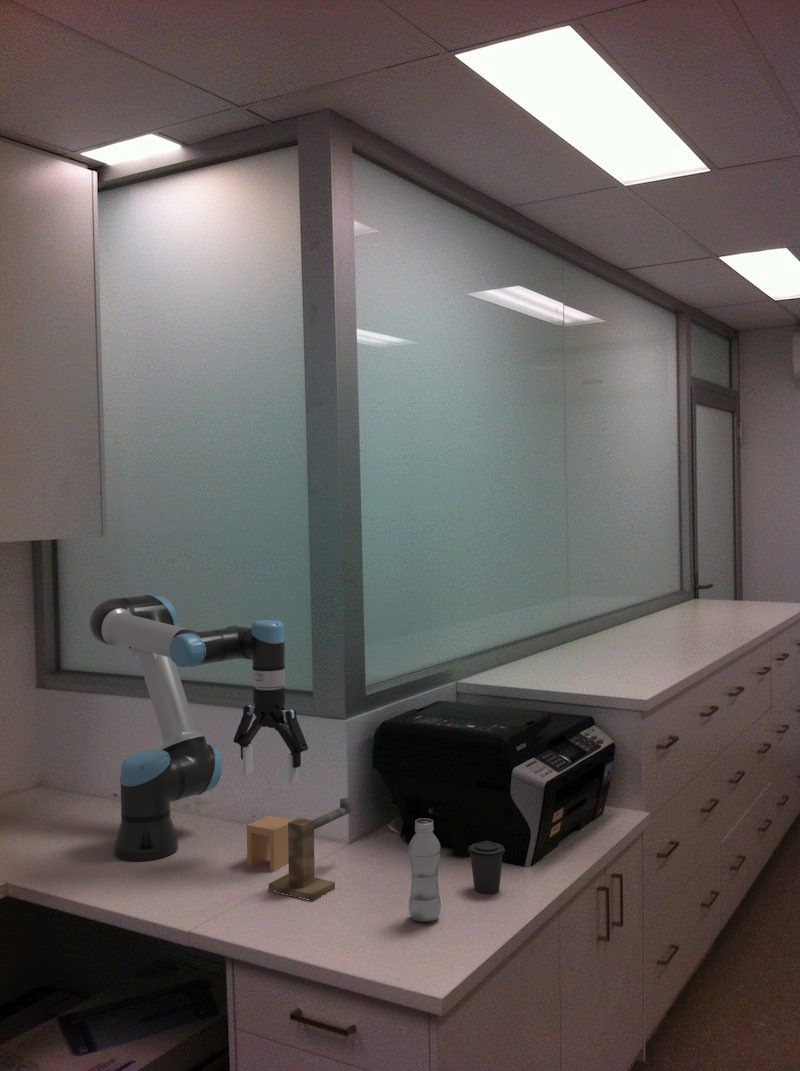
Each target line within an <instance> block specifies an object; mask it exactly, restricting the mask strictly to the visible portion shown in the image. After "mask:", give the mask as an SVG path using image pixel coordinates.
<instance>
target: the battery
mask: <svg viewBox="0 0 800 1071" xmlns="http://www.w3.org/2000/svg"><path fill="white" fill-rule="evenodd" d="M457 835H458V833H457V834H456V833H454V834H453V833H452V853H453V855H454V854H459V855H458V856H460V855H465V856H464V857H467V856H469V857H471V856H470V852H469V851H468V848H469V842H468V839H467V838H466V837H464V836H463V837H462V835H461V836H460V834H459V835H458V836H457Z"/></svg>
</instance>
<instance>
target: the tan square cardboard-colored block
mask: <svg viewBox="0 0 800 1071" xmlns="http://www.w3.org/2000/svg"><path fill="white" fill-rule="evenodd" d="M293 820H294V819H288V818H282V817H277V816H271V815H266V816H264V817H262V818H260V819H257V820H255V821H253V822H250V823H248V824H246V856H247V857H246V860H247V861H246V862H247V863H246V865H249V866H248V867H253V866H256V865H258V864H259V863H262V862H263V860H264V861H266V860H267V859H269V871H270V870H271V871H270V872H273V871H275V872H277V871H279V870H280V868H281V867H283V866H285V867H286V865H287V864H289V859H288V823H289V822H291V821H293ZM257 863H258V864H257ZM255 864H256V865H255ZM287 866H288V865H287ZM283 868H284V867H283ZM278 869H279V870H278ZM281 869H282V868H281ZM276 870H277V871H276Z"/></svg>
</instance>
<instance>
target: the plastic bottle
mask: <svg viewBox="0 0 800 1071" xmlns="http://www.w3.org/2000/svg"><path fill="white" fill-rule="evenodd" d="M414 824H415V825H414V832H415V834H414V835H413V837H412V838H411V840H410V841H409V844H408V845H409V846H408V853H409V860H410V871H411V885H410V895H409V899H408V900H409V901H408V913H409V916H410V917H411V918H412V920H413V921H416V922H421V923H428V922H429V923H430V922H433V921H435V920H437V919H438V917H439V916H440V914H441V909H442V904H441V897H440V892H439V891H440V889H439V879H438V878H439V863H440V856H441V843H440V840H439V839H438V838H437V836H436V835H435V833H434V831H435V827H434V820H433V819H430V818H425V817H424V818H418V819H416V820H415V821H414Z"/></svg>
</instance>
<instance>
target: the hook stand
mask: <svg viewBox="0 0 800 1071" xmlns="http://www.w3.org/2000/svg"><path fill="white" fill-rule="evenodd" d="M351 811H352V807H351V798H349V797H342V798H339V808H336V809H334V810H332V811H329V812H327V813H325V814H323V815H322V816H321V815H320V816H319V817H317V818H315V819H312V820H311V819H307V818H303V817H298V818H295V819H292V820H293V821H291V822H289V823H288V859H289V865H288V873H286V874H285V875H283V876H281V877H279V878H277V879H275V880H274V881H271V882H270V883H268V891H269V890H271V891H270V892H272V891H276V892H279V893H278V894H280V893H284V894H288V895H292V896H291V897H293V896H296V897H295V898H297V897H301V898H305V899H309V900H312V901H311V902H315V901H317V900H319V899H320V898H322V897H323V896H322V895H324V896H325V895H327V894H329V893H330V891H331V892H333V890H334V891H335V889H336V882H335V881H331V880H329V879H328V880H327V879H322V878H318V877H315V875H316V873H315V830H317V829H319V828H321V827H323V826H325V825H328V824H330V823H332V822H333V821H336V820H337V819H340V818H342V817H344V816H346V815H348V814H350V813H351ZM276 892H275V893H276ZM328 892H329V893H328ZM326 893H327V894H326ZM284 894H283V895H284ZM288 895H287V896H288ZM321 896H322V897H321ZM319 897H320V898H319ZM301 898H300V899H301ZM305 899H304V900H305ZM316 899H317V900H316ZM309 900H308V901H309ZM314 900H315V901H314Z"/></svg>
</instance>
